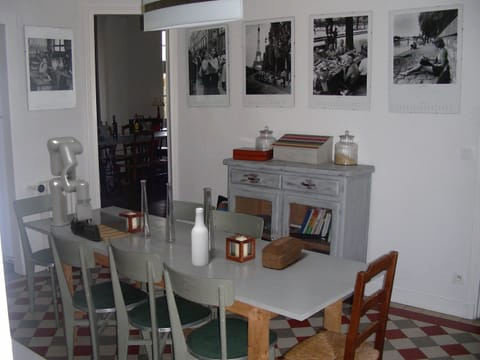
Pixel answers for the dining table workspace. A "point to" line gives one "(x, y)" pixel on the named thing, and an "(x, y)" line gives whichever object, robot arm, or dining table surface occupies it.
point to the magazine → (86, 230)
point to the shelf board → (111, 233)
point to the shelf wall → (113, 221)
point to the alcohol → (199, 240)
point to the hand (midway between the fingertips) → (84, 230)
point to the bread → (281, 252)
